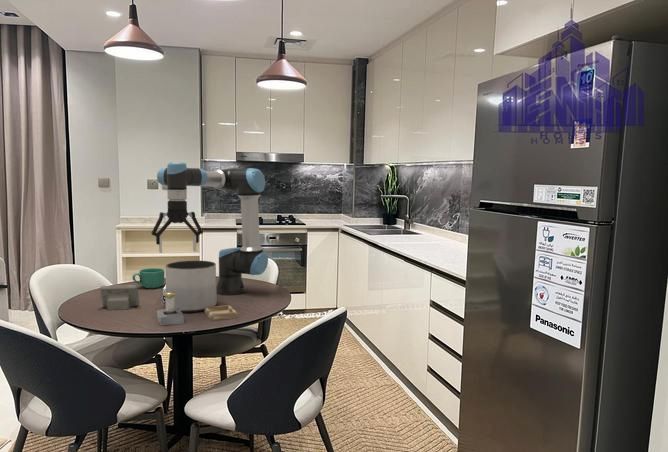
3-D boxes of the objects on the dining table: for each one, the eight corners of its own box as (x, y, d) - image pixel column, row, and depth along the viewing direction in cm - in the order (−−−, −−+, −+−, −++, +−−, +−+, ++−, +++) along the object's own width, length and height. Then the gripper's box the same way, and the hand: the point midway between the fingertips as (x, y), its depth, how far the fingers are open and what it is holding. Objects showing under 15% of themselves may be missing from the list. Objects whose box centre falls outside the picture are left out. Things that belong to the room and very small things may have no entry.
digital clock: (141, 305, 226) (140, 283, 225) (133, 310, 217) (132, 287, 216) (107, 305, 226) (106, 282, 225) (97, 310, 217) (96, 286, 216)
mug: (161, 283, 273) (160, 267, 272) (167, 288, 263) (167, 270, 262) (129, 287, 263) (129, 270, 263) (135, 291, 253) (134, 273, 252)
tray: (204, 312, 215) (204, 307, 215) (229, 309, 220) (229, 304, 220) (211, 320, 203) (211, 315, 203) (237, 317, 208) (237, 312, 208)
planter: (217, 300, 238) (216, 259, 236) (216, 312, 216) (215, 268, 214) (169, 302, 233) (168, 260, 231) (162, 314, 211) (161, 269, 209)
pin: (163, 319, 203) (162, 291, 202) (175, 318, 206) (175, 290, 204) (164, 323, 199) (164, 294, 198) (177, 321, 201) (176, 293, 200)
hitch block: (157, 318, 206) (157, 310, 205) (179, 315, 210) (179, 307, 209) (160, 326, 195) (160, 317, 195) (183, 323, 199) (183, 315, 199)
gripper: (145, 200, 190) (146, 254, 191) (209, 200, 201) (210, 251, 203) (143, 200, 196) (144, 251, 198) (205, 199, 208) (206, 249, 209)
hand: (177, 251), depth 200 cm, fingers open, 13 cm apart
